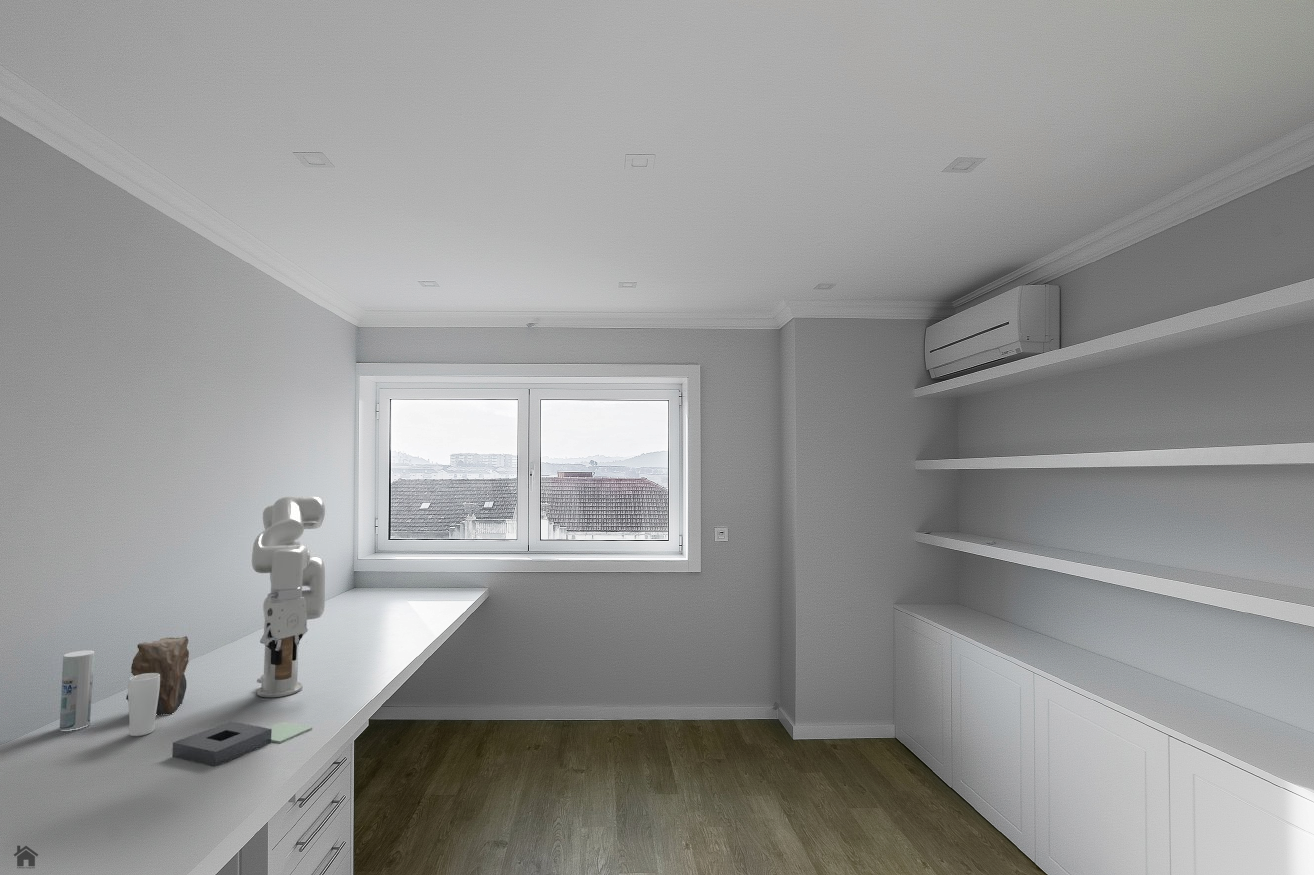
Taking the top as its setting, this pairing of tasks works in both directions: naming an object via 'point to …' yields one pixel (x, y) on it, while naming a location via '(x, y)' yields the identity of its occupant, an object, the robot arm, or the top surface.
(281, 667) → the tan rounded cylinder
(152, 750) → the top surface
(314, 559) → the robot arm
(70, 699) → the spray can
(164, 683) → the jagged brown boulder
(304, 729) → the set down mat
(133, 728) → the drinking glass
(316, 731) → the top surface
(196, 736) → the dark grey socket block
